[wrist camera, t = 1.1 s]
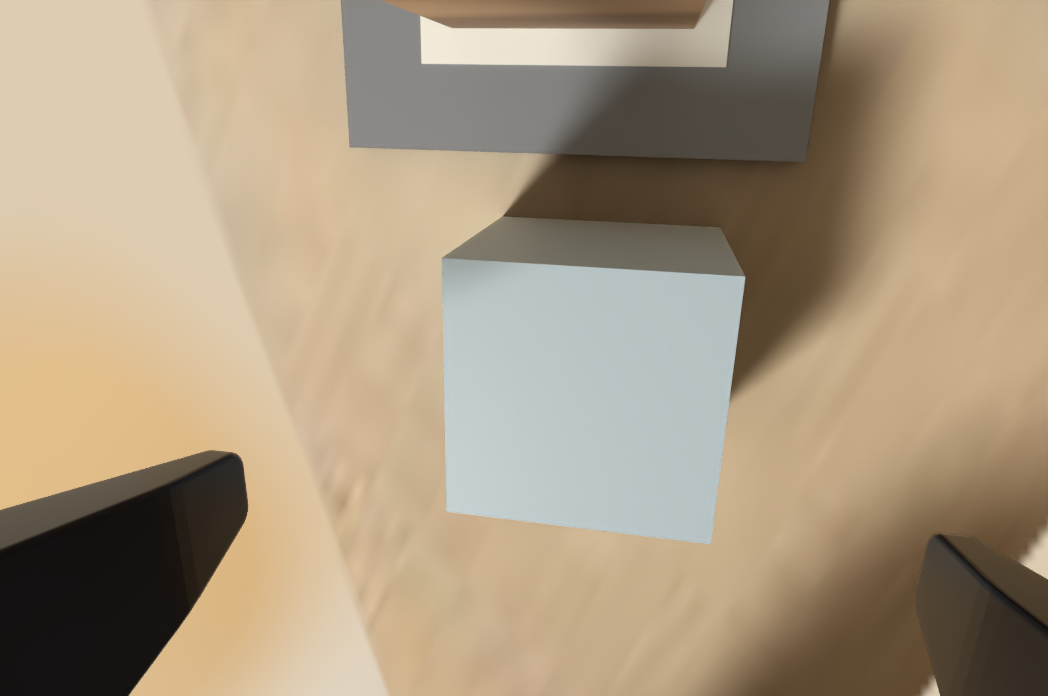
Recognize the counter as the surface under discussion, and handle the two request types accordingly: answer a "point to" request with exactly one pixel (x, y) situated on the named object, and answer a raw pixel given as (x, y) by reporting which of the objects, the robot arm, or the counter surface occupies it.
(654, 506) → the bluegrey block
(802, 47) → the pad
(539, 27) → the walnut block
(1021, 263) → the counter surface
